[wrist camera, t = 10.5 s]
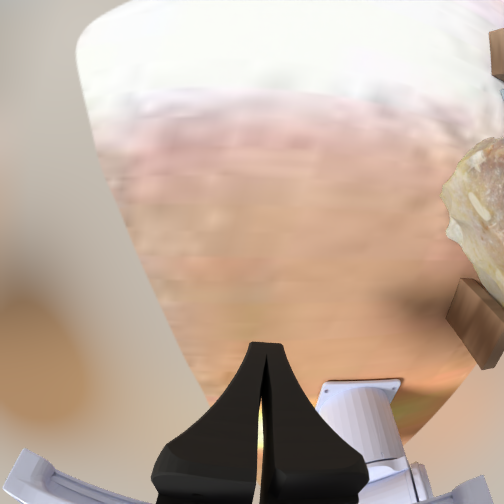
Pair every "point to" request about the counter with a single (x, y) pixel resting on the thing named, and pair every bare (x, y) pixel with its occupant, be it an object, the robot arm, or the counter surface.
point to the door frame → (472, 294)
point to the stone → (480, 212)
